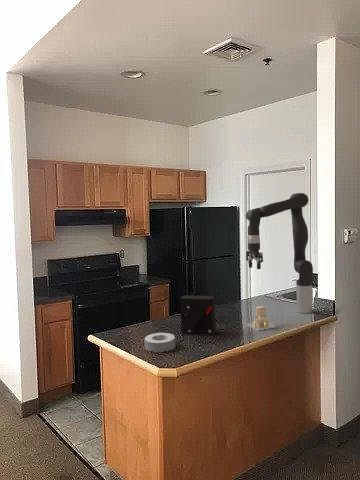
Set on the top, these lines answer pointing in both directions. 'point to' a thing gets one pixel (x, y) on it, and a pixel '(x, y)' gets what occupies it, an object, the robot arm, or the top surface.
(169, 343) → the tape roll
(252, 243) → the robot arm
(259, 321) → the block
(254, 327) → the plate
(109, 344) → the top surface
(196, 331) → the electrical component
